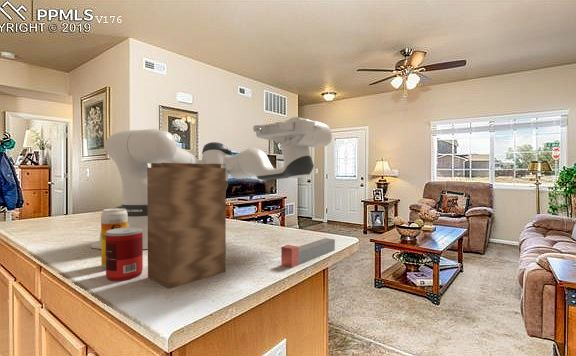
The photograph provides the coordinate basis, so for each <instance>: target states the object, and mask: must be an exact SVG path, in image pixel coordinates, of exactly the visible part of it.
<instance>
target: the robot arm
mask: <svg viewBox="0 0 576 356" xmlns="http://www.w3.org/2000/svg"><path fill="white" fill-rule="evenodd" d="M252 130H253V132H255V135H256V137H257V138H258V139H263V140H267V141H268V140H269V141H274V142H275V144H280V149H281V153H282V158H283V167H278V168H274V165H272V163H271V161H270V158H269V157H268V155H267V154H266V153H265V152H264V150H262V149H260V148H257V147H250V148H247V149H244V150H243V151H242V150H241V151H240V152H238V153H237V154H235V155H232V154H233V152H232V150H231V149H229V148H228V146H226V145H225V144H224V143H220V142H214V141H213V142H208V143H206V144H204V145H203V147H202V152H201V154H202V156H201V159H199V158H198V157H197V156H195V155H194V154H193V153H191V152H189V151H187V150H185V149H183V148H182V147H180V146H178V145H177V141H176V139H175V136H174V135H173V134H172V133H171V132H169V131H166V130H162V129H156V128H155V129H154V128H149V129H132V130H122V131H118V132H116V133H113V134H111V135H109V136H108V138H107V139H106V141H105V151H106V154H107V155H108V157H109V158H110V159H111V160H112V161H113V162H114V163H115V164H116V165H115V166H116V167H117V170H118V172H119V176H120V179H121V185H122V186H121V187H122V188H121V190H122V204H121V205H120V206H115V208H124V209H126V211H127V213H128V227H137V228H142V232H143V250H148V199H147V168H149V164H150V165H151V163H192V164H221V168H226V191H227V189H228V186H229V175H230V177H232V178H233V179H236V180H240V179H241V180H242V179H247V178H251V177H253V176H255V177H256V179H258V180H260V181H268V180H269V181H270V180H271V181H272V180H281V179H289V178H293V179H294V178H295V179H300V178H301V179H302V178H305V177H308V176H310V175H311V173H312V171H313V170H314V167H315V164H314V162H313V159H312V157H311V152H310V148H323V147H327V146H329V144H330V143H331V142H332V138H333V133H332V130H331V127H330V126H329V125H328V124H326V123H323V122H320V121H318V120H310V119H308V118H303V117H300V116H298V117H297V116H291V118H289V119H287V120H284V121H277V122H275V123H268V124H267V123H266V124H259V125H253V127H252ZM90 248H92V249H97V250H101V232H100V233H99V241H96V242H95V241H94V243H92V244H91V246H90Z"/></svg>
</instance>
